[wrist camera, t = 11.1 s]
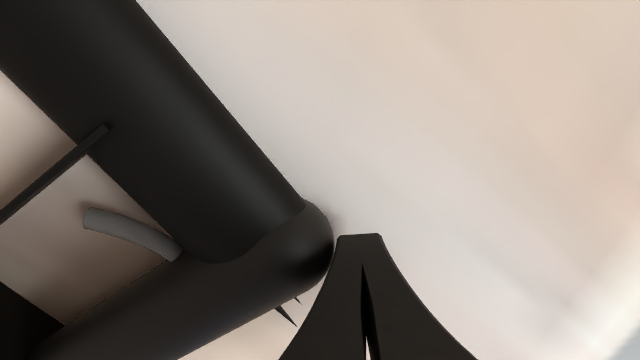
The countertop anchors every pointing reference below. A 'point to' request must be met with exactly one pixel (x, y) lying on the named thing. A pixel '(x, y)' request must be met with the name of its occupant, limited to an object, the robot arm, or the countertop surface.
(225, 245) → the door handle
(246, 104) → the countertop surface
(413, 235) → the countertop surface
